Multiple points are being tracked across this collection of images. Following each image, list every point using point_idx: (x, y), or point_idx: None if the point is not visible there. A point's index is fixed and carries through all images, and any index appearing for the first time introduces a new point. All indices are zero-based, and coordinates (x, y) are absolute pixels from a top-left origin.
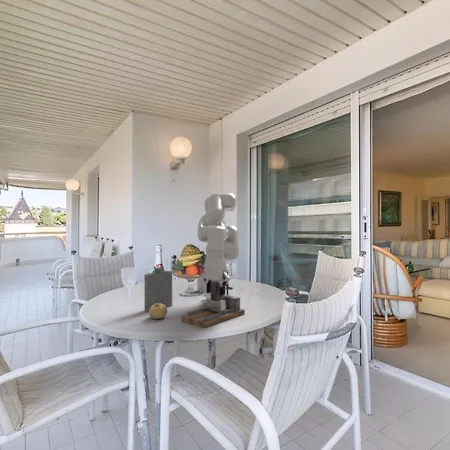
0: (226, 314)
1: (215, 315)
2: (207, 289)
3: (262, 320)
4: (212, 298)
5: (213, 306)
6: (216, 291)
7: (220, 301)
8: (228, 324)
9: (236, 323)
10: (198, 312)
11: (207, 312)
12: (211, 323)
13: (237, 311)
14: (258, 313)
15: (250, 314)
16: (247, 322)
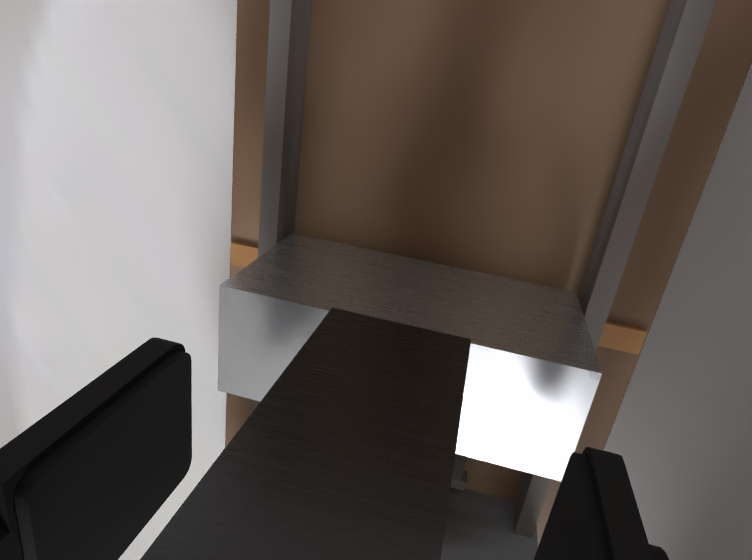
0: (247, 258)
1: (274, 80)
2: (601, 525)
3: (28, 367)
4: (415, 343)
5: (417, 283)
6: (251, 432)
7: (249, 316)
8: (157, 103)
9: (122, 179)
10: (634, 127)
11: (522, 234)
12: None
13: (237, 423)
14: (165, 521)
15: (197, 477)
16: (73, 260)
